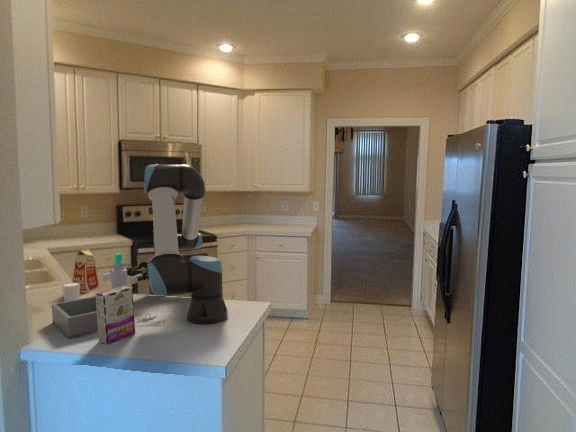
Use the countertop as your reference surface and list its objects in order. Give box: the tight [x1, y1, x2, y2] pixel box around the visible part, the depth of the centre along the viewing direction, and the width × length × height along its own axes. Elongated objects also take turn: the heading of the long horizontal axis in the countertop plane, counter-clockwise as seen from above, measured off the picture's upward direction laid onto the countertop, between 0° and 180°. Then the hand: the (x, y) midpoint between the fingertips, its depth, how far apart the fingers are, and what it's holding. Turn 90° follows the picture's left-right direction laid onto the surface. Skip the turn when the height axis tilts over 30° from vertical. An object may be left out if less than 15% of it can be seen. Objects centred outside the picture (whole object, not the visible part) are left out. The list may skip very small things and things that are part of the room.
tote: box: [51, 295, 98, 340], centre depth 154 cm, size 20×16×7 cm
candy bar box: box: [95, 286, 136, 345], centre depth 142 cm, size 11×5×16 cm, turn 148°
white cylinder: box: [61, 282, 80, 302], centre depth 184 cm, size 7×7×7 cm
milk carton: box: [71, 248, 100, 294], centre depth 200 cm, size 9×9×20 cm
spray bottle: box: [110, 253, 129, 289], centre depth 173 cm, size 6×6×22 cm
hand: (117, 279), depth 172 cm, fingers open, 13 cm apart
